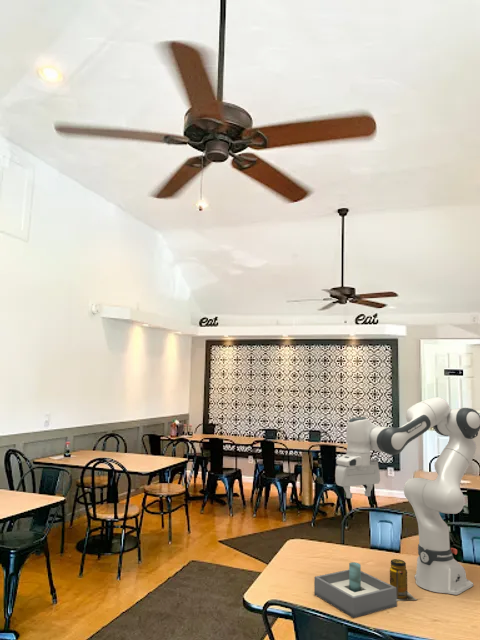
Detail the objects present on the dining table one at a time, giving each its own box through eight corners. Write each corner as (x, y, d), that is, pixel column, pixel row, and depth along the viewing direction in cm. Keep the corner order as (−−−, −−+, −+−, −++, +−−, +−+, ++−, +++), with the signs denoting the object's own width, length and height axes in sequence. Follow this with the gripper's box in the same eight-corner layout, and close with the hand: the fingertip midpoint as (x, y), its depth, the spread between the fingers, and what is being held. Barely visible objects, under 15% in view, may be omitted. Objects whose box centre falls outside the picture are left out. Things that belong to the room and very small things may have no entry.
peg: (355, 590, 171) (355, 561, 172) (363, 595, 167) (362, 565, 169) (346, 592, 169) (346, 563, 170) (354, 597, 165) (354, 567, 167)
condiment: (386, 592, 173) (385, 557, 175) (408, 592, 174) (407, 557, 176) (394, 601, 166) (393, 564, 168) (417, 600, 167) (416, 564, 168)
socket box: (355, 585, 179) (355, 568, 180) (396, 606, 162) (396, 587, 163) (314, 594, 169) (314, 576, 170) (353, 618, 152) (353, 598, 153)
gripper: (371, 457, 189) (372, 493, 187) (332, 459, 179) (332, 497, 177) (383, 459, 184) (384, 496, 182) (344, 461, 174) (344, 500, 172)
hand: (358, 497), depth 179 cm, fingers open, 8 cm apart
